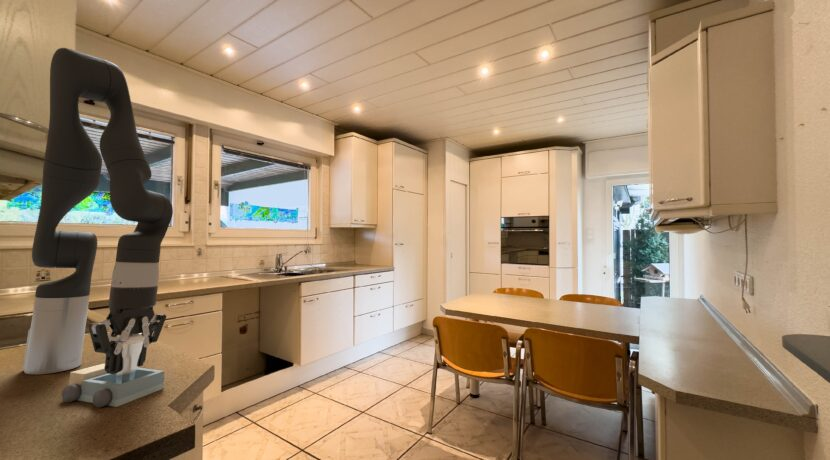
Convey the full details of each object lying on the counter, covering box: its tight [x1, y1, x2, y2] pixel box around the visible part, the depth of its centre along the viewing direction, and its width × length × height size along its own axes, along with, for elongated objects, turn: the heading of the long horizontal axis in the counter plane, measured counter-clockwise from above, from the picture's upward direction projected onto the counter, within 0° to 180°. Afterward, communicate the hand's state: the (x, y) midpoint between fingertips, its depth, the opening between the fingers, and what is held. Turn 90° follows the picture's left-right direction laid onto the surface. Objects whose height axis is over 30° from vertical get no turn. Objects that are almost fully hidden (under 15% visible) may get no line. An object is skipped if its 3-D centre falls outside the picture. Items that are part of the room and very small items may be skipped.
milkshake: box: [114, 334, 145, 384], centre depth 68 cm, size 5×5×10 cm
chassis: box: [61, 362, 165, 408], centre depth 67 cm, size 13×11×5 cm
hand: (125, 368), depth 67 cm, fingers closed on milkshake, 4 cm apart
